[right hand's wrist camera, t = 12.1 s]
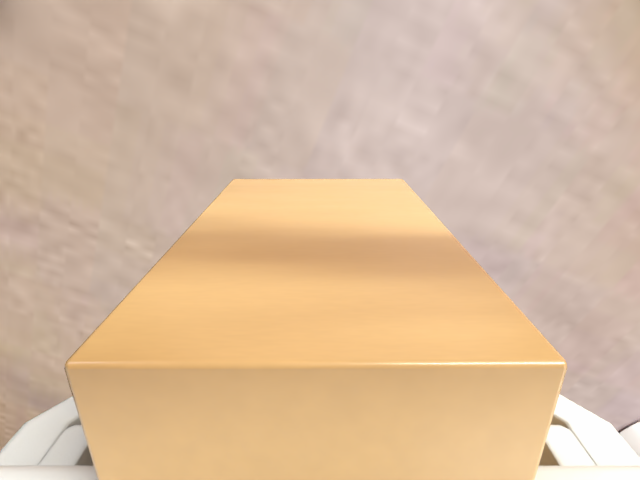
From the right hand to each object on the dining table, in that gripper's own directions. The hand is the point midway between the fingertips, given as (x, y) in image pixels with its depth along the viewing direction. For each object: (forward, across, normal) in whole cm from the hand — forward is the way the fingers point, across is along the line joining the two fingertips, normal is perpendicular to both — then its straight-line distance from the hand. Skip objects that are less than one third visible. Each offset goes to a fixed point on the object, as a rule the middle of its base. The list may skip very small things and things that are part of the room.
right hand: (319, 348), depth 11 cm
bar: (+4, 0, -10) cm, 11 cm away
